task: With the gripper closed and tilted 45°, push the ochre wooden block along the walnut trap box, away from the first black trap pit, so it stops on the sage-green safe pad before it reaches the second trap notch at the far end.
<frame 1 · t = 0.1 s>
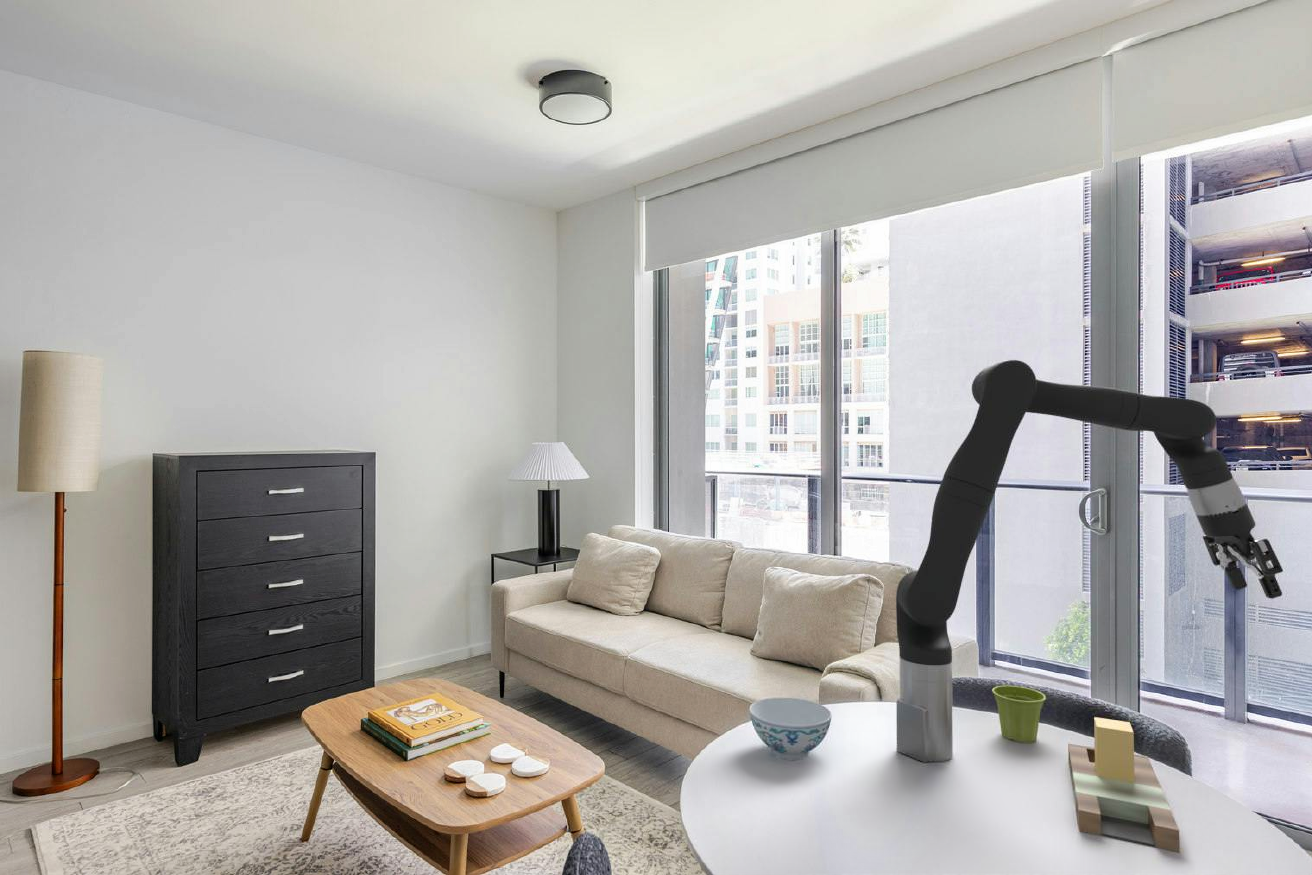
hand: (1257, 592, 125), 31 cm above the table, tool tilted 20°, fingers open, 8 cm apart
plant pot: (1019, 738, 138), on the table
trap box: (1116, 799, 113), on the table
ochre block: (1114, 773, 115), point 3 cm above the table, touching trap box
chinaware: (789, 753, 130), on the table
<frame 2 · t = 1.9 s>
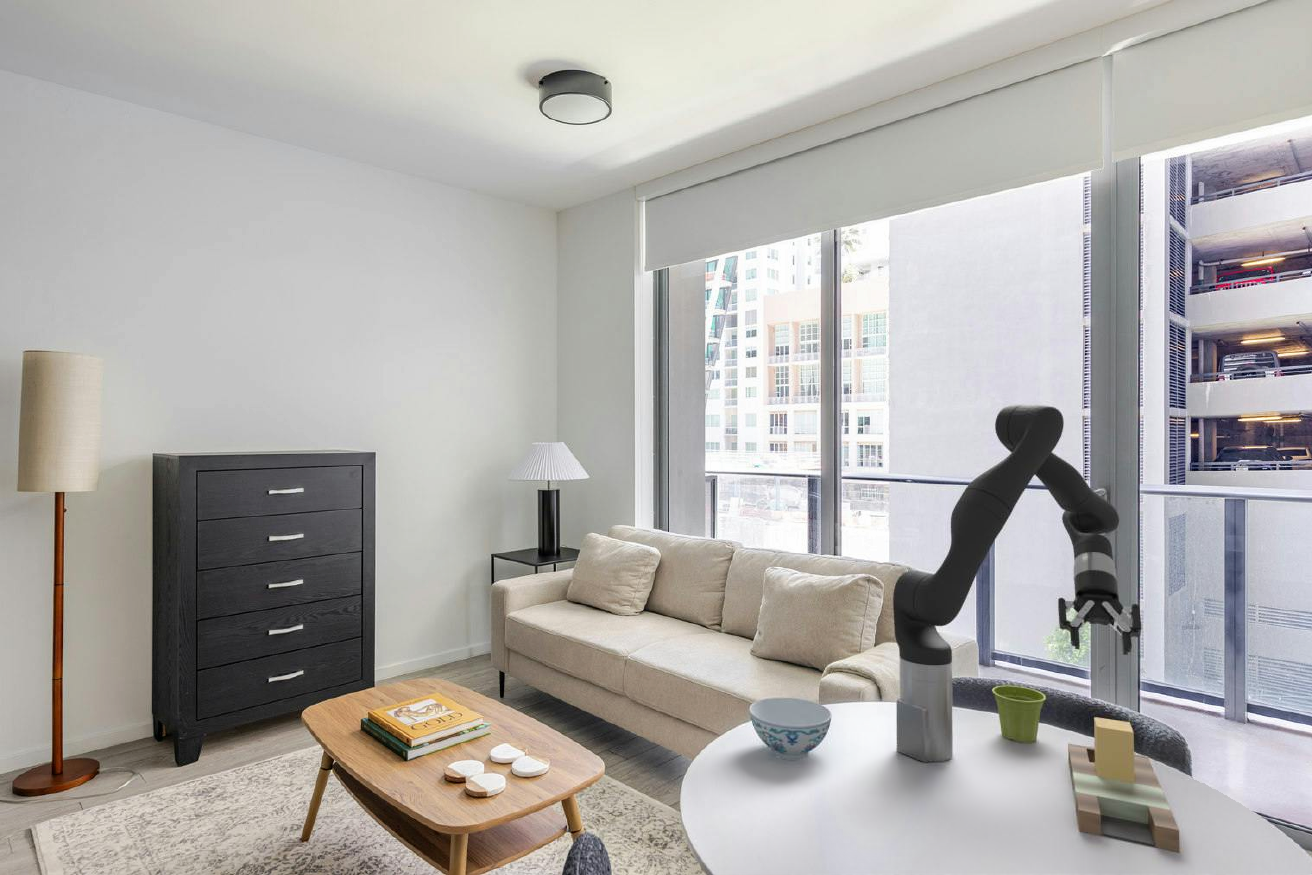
hand: (1101, 649, 134), 19 cm above the table, tool tilted 45°, fingers open, 7 cm apart
nothing on the table moved.
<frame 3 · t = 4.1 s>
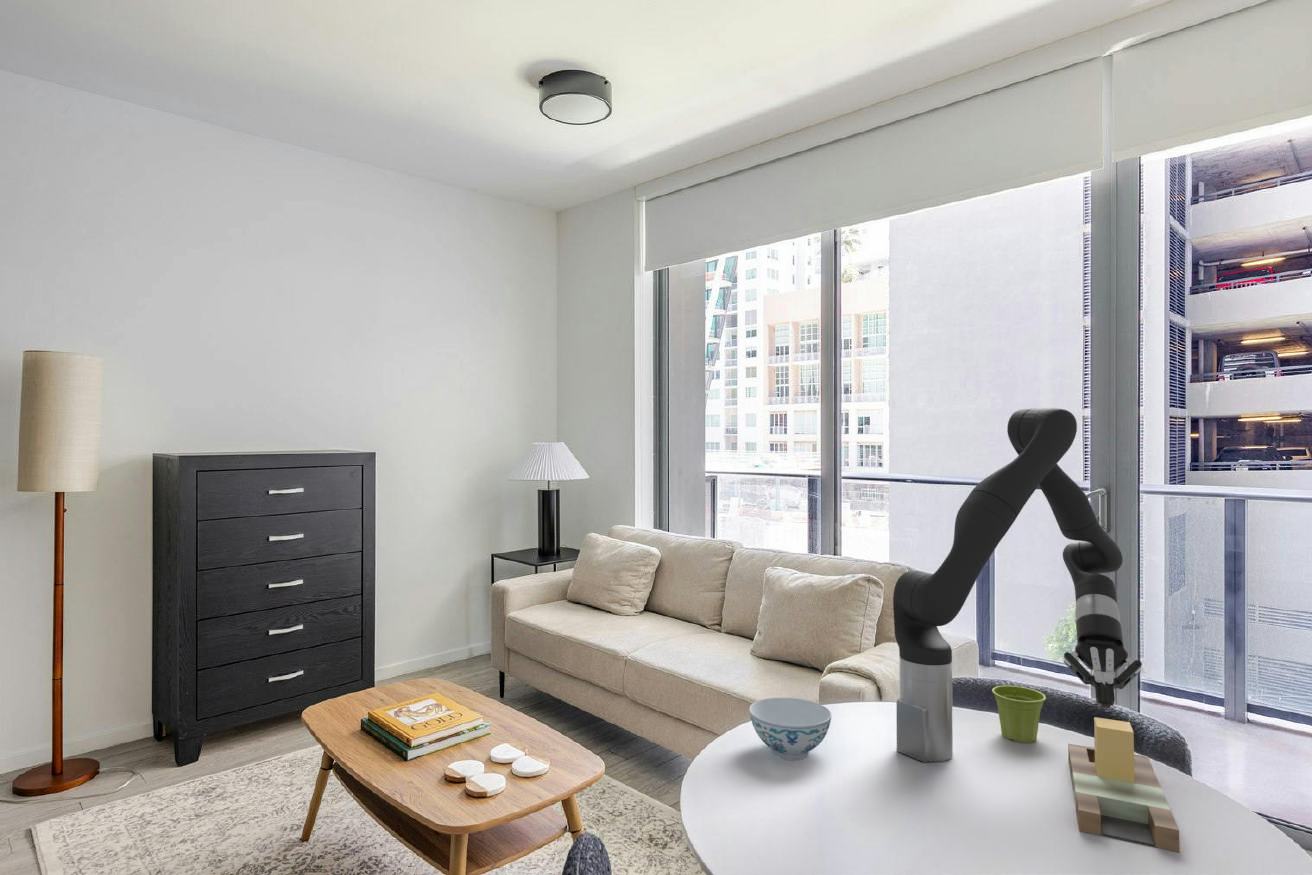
hand: (1105, 705, 126), 11 cm above the table, tool tilted 45°, fingers closed
nothing on the table moved.
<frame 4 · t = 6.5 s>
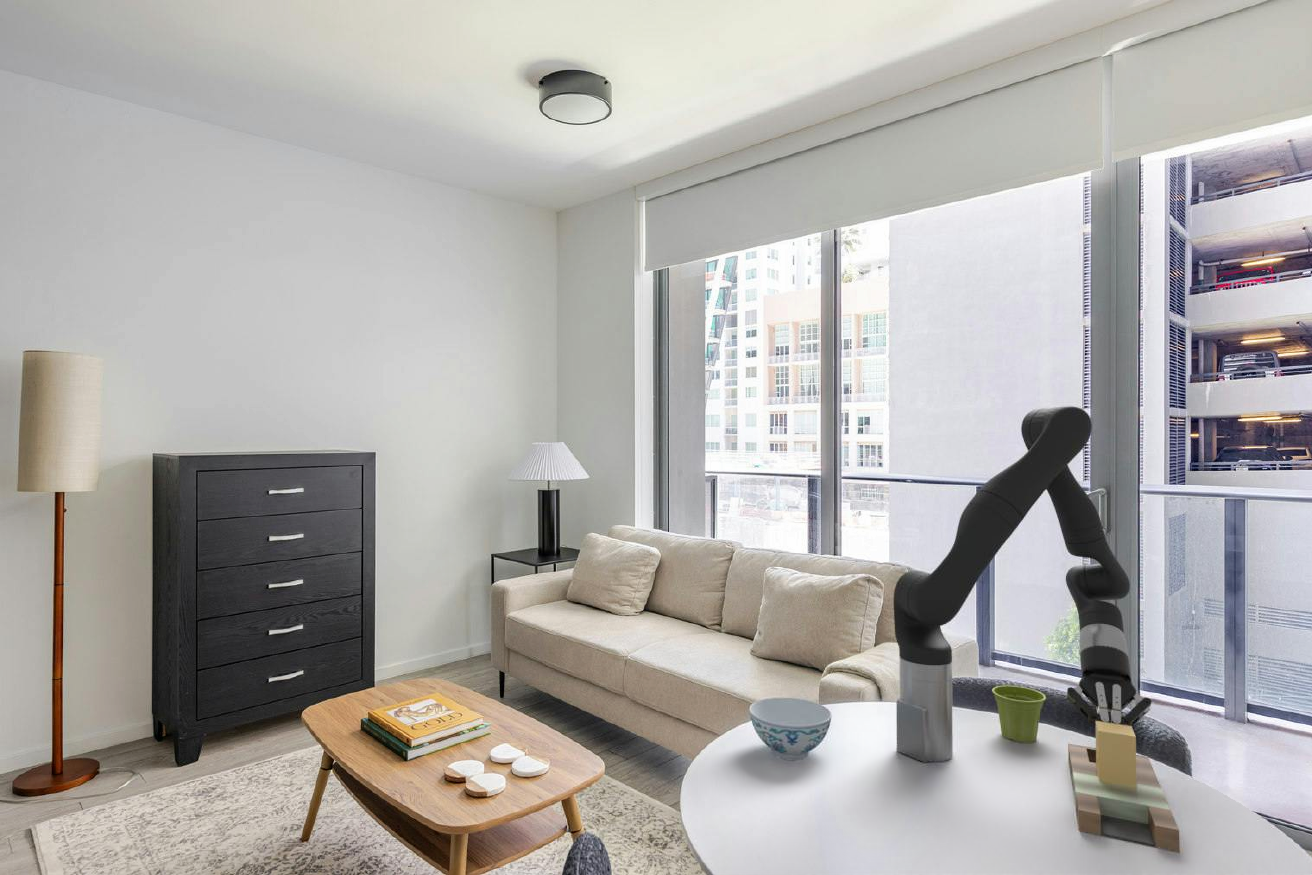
hand: (1112, 747, 117), 7 cm above the table, tool tilted 45°, fingers closed
ochre block: (1115, 778, 114), point 3 cm above the table
everything else where it was.
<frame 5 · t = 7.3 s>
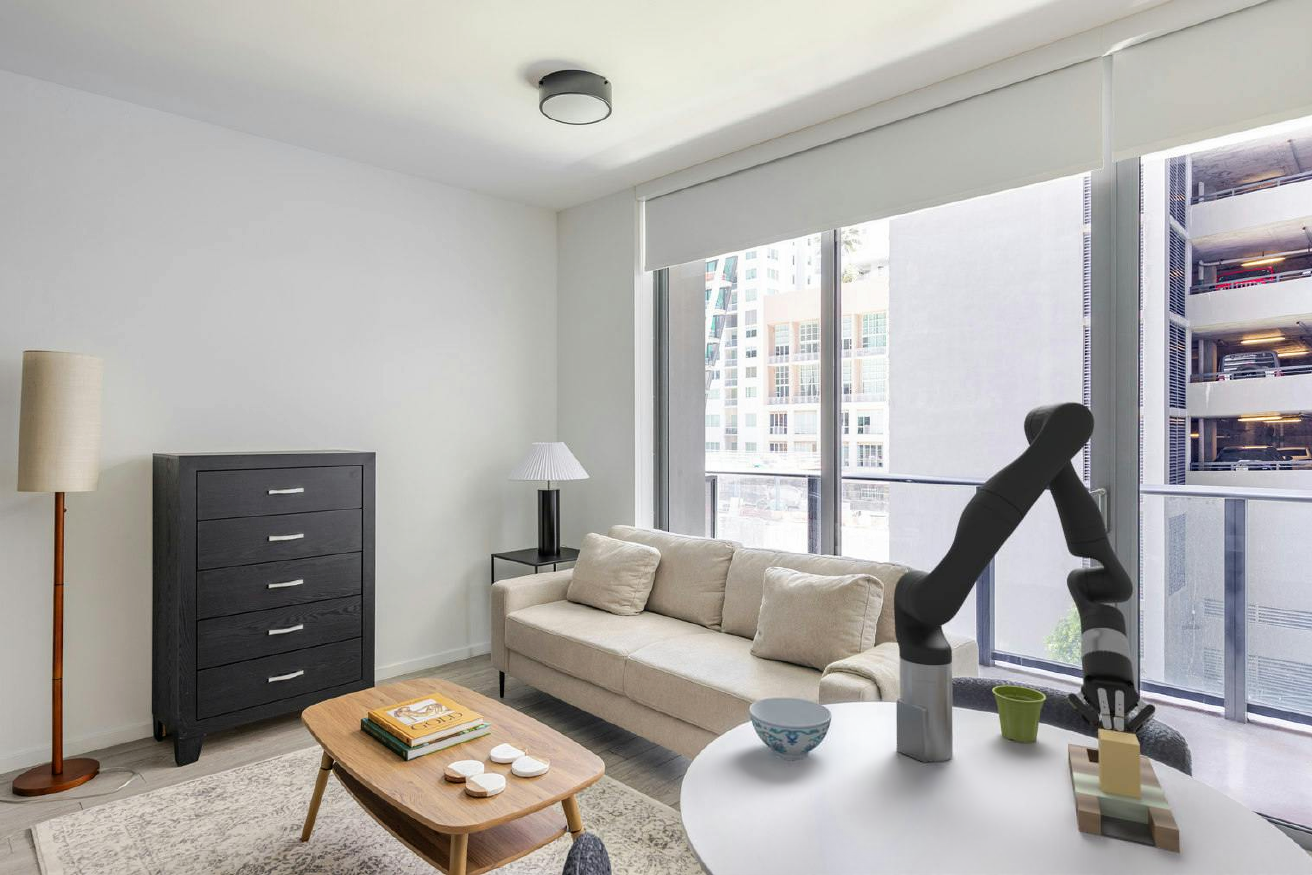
hand: (1115, 755, 113), 7 cm above the table, tool tilted 45°, fingers closed
ochre block: (1119, 788, 110), point 3 cm above the table, touching gripper, trap box
everything else where it was.
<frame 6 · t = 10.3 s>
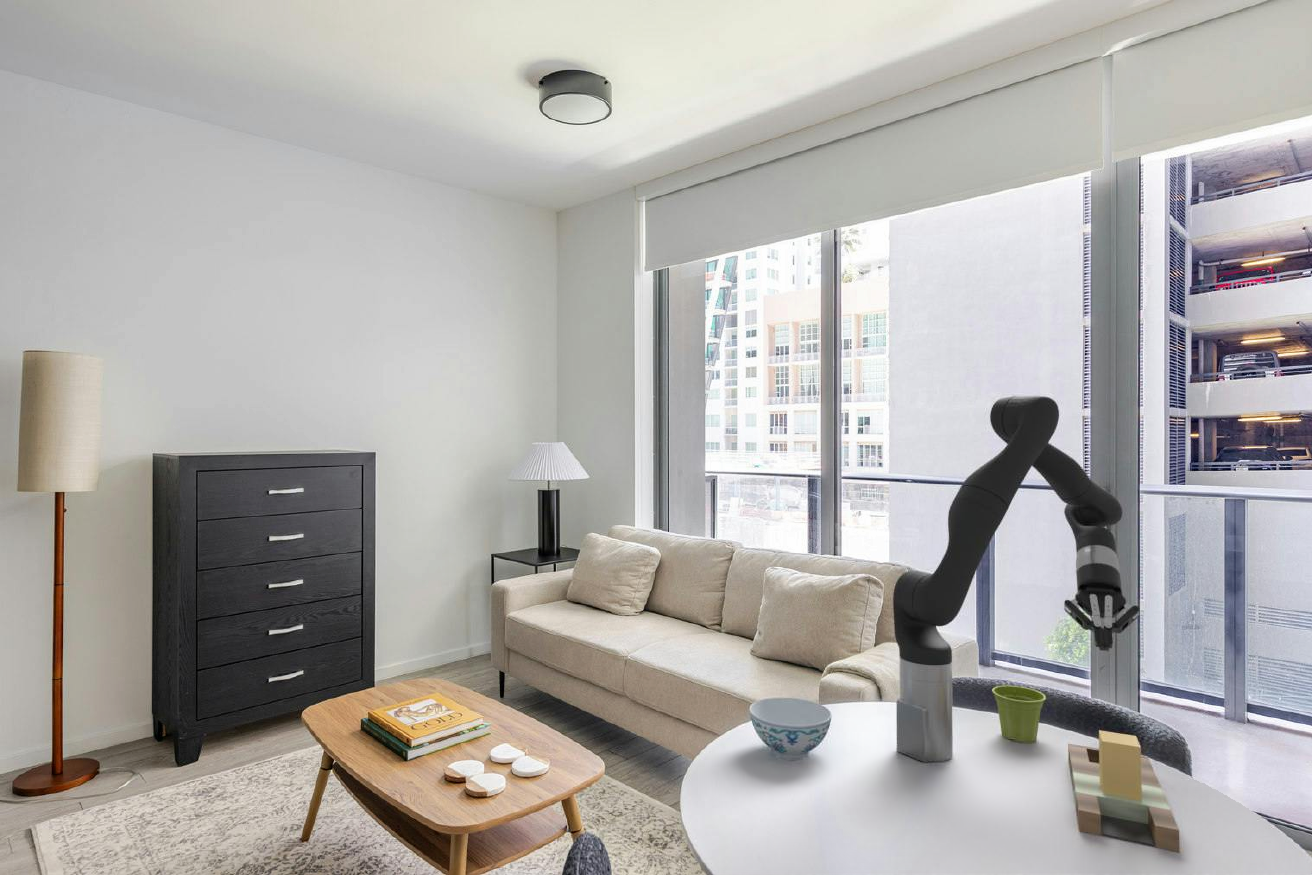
hand: (1104, 648, 131), 20 cm above the table, tool tilted 45°, fingers closed
ochre block: (1120, 790, 109), point 3 cm above the table, touching trap box
everything else where it was.
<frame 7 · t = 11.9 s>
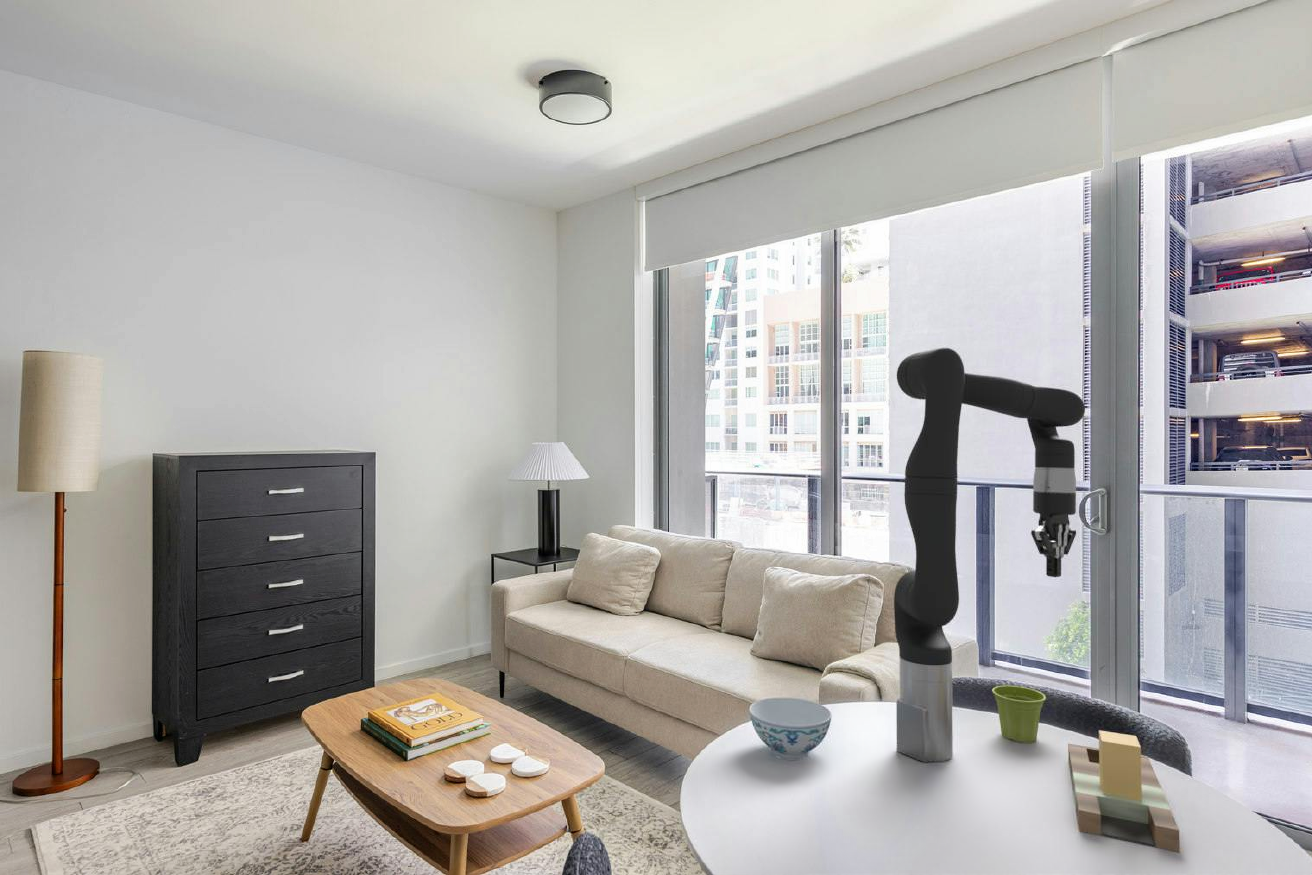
hand: (1053, 576, 142), 31 cm above the table, tool pointing down, fingers closed
nothing on the table moved.
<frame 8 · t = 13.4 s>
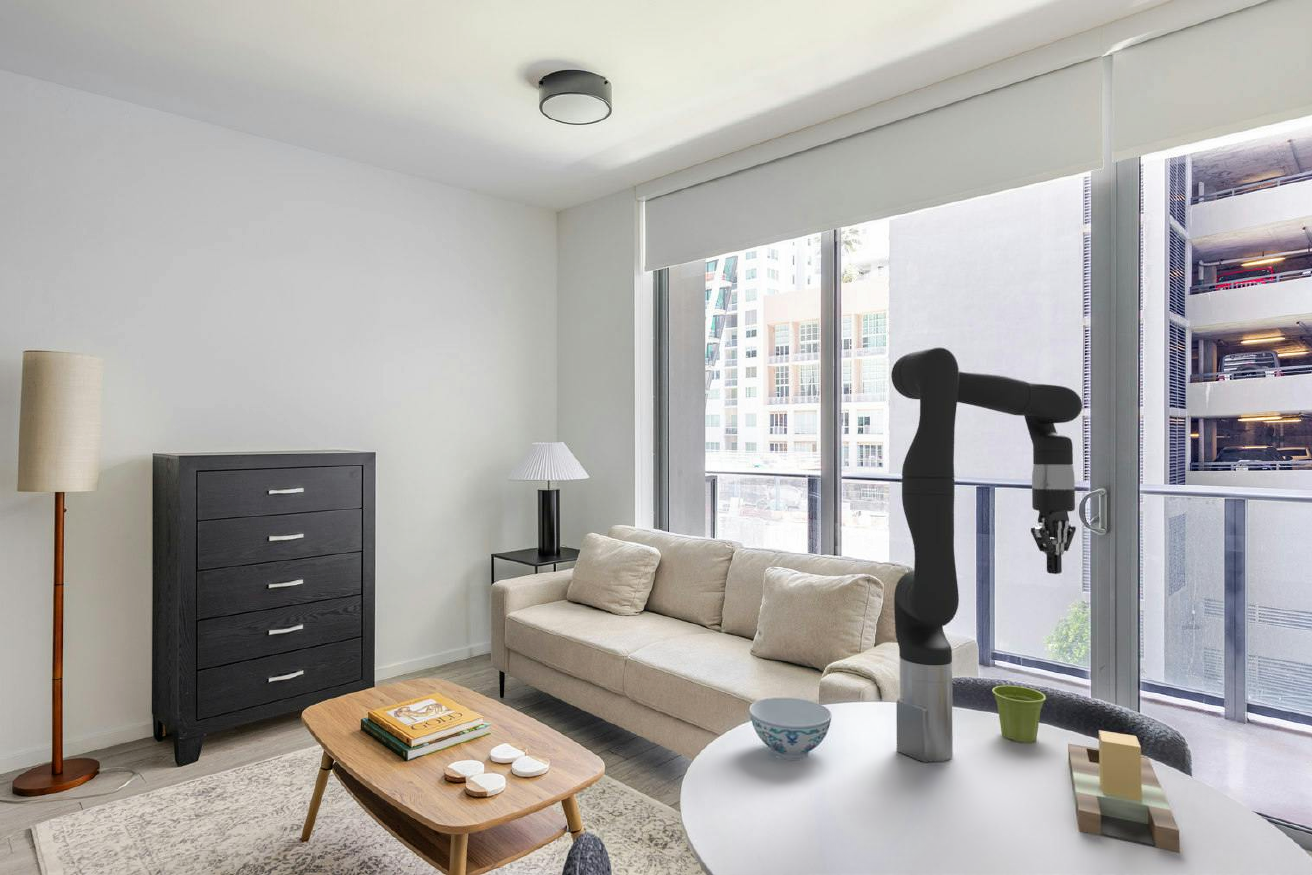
hand: (1054, 573, 141), 32 cm above the table, tool pointing down, fingers closed
nothing on the table moved.
at the end: ochre block 0.3 cm from the target spot on the trap box, point 3.0 cm above the trap box's base; ochre block tilted 0°; ochre block moved 6.7 cm from its start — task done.
